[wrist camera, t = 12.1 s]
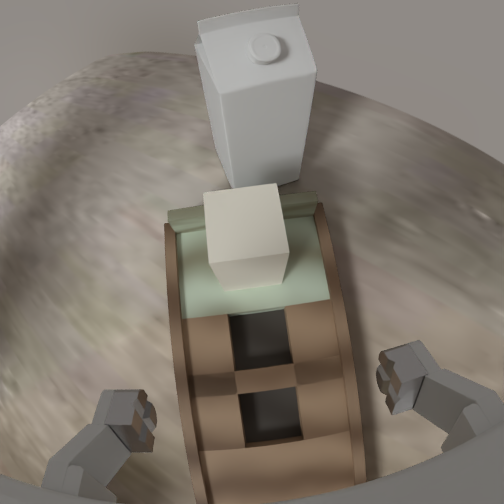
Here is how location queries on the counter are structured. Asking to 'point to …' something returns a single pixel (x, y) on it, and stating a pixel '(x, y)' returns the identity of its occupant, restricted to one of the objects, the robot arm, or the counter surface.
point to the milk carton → (257, 92)
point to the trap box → (264, 367)
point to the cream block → (246, 236)
